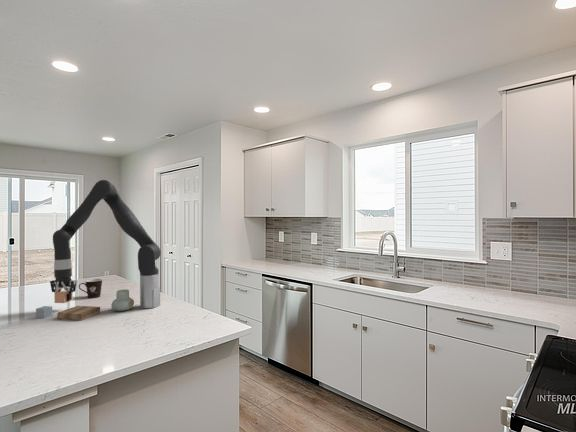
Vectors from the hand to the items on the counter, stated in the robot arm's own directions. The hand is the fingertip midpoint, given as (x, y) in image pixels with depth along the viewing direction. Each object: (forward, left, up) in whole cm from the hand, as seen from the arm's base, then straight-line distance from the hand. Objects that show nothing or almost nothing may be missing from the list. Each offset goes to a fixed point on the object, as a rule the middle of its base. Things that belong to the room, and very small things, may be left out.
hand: (63, 300), depth 170 cm
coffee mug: (+6, -26, -5) cm, 28 cm away
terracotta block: (0, 0, -1) cm, 1 cm away
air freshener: (-30, -6, -5) cm, 31 cm away
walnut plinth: (-16, +7, -5) cm, 18 cm away
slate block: (0, +11, -5) cm, 12 cm away
